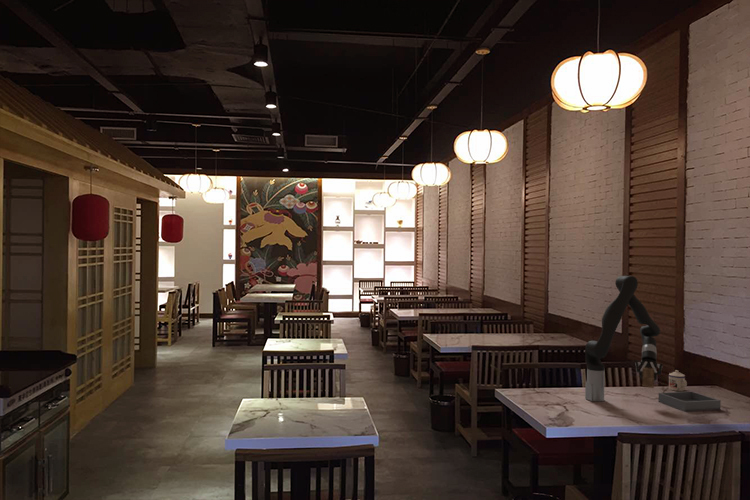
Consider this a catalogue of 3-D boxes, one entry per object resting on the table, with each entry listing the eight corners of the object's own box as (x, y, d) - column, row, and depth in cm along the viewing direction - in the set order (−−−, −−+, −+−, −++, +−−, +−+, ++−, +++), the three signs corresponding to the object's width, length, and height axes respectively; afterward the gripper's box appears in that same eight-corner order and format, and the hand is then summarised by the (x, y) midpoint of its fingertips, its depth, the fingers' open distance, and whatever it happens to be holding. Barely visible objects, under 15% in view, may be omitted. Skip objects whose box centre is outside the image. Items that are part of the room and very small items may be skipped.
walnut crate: (642, 386, 305) (642, 368, 305) (642, 384, 310) (642, 366, 310) (653, 388, 303) (654, 369, 303) (653, 386, 308) (654, 367, 308)
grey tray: (685, 411, 296) (685, 402, 296) (658, 401, 316) (658, 392, 316) (720, 409, 301) (720, 400, 301) (691, 400, 321) (692, 391, 321)
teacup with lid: (664, 388, 349) (665, 369, 349) (676, 387, 351) (677, 368, 351) (680, 392, 337) (680, 373, 337) (692, 392, 340) (692, 372, 340)
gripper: (634, 348, 317) (633, 373, 306) (663, 351, 310) (663, 376, 299) (635, 356, 321) (633, 381, 311) (663, 359, 315) (662, 384, 304)
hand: (648, 379), depth 305 cm, fingers closed on walnut crate, 5 cm apart
